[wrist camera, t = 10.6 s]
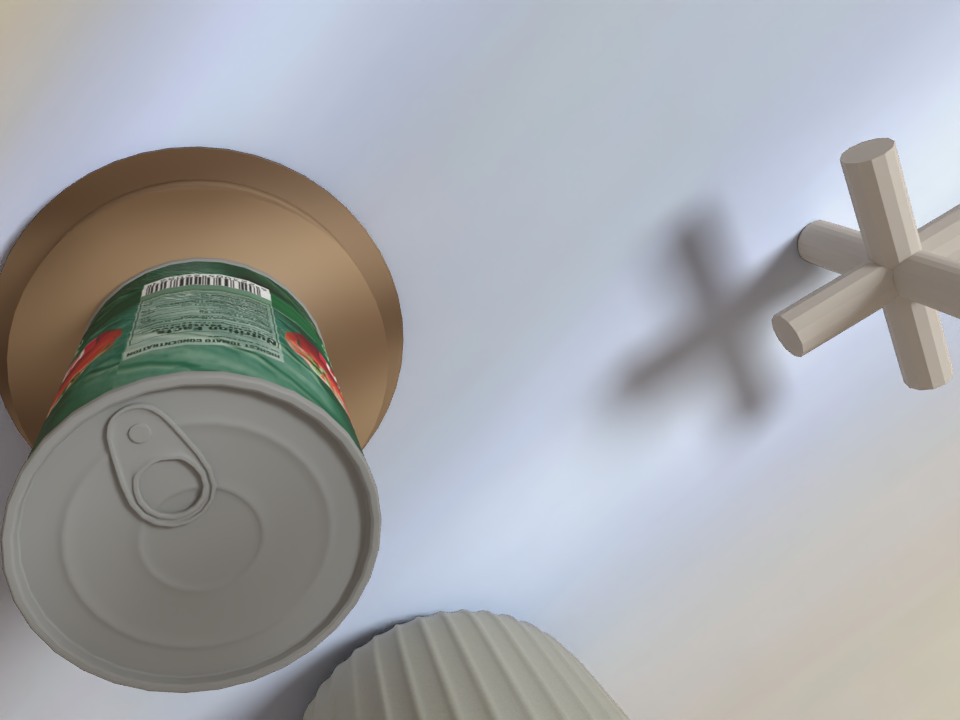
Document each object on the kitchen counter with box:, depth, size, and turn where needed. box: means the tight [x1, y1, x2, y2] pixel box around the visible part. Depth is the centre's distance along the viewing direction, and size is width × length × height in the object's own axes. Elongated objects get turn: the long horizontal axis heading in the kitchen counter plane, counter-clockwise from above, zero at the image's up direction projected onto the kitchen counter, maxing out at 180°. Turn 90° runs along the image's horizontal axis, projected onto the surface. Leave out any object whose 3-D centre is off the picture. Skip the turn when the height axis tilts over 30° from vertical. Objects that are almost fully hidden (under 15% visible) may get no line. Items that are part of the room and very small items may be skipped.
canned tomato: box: [1, 257, 381, 693], centre depth 24 cm, size 8×8×11 cm
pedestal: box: [0, 147, 403, 449], centre depth 30 cm, size 14×14×3 cm
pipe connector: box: [772, 138, 960, 390], centre depth 33 cm, size 10×10×10 cm
